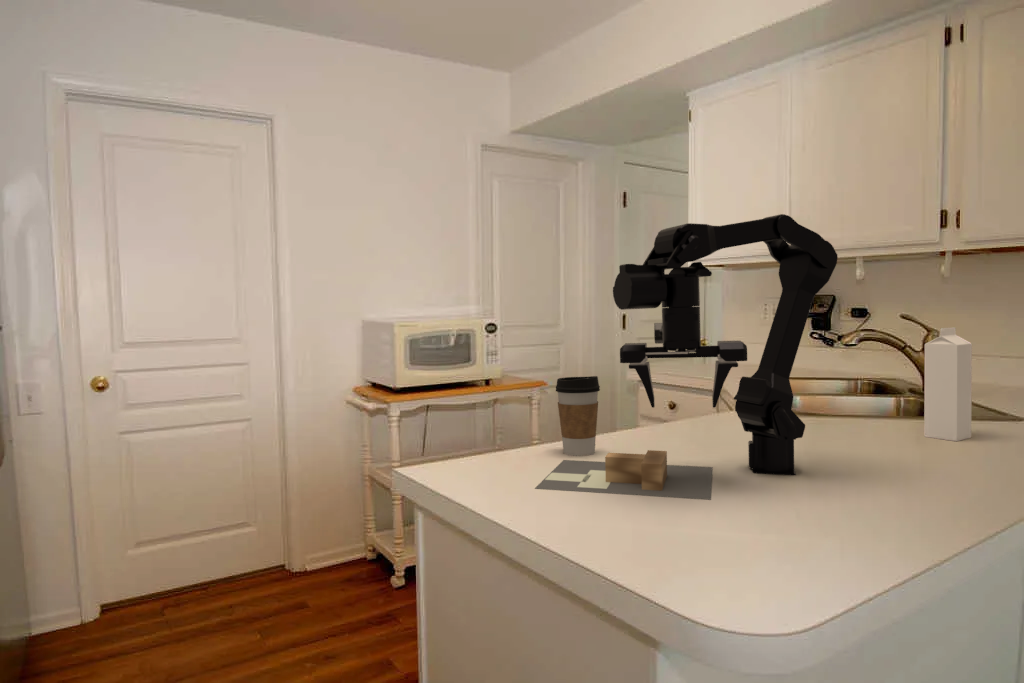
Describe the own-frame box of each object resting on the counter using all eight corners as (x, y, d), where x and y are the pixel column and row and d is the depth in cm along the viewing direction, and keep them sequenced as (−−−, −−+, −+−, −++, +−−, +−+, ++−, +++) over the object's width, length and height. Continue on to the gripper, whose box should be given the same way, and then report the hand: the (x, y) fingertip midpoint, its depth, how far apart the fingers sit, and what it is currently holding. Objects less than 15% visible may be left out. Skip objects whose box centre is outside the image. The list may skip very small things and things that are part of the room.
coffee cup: (587, 461, 116) (585, 379, 116) (548, 456, 122) (546, 377, 121) (609, 452, 123) (607, 375, 122) (572, 447, 128) (570, 373, 127)
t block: (667, 475, 104) (666, 451, 104) (662, 490, 96) (661, 464, 95) (611, 472, 107) (611, 448, 107) (602, 487, 98) (601, 461, 98)
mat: (712, 469, 108) (712, 466, 108) (710, 502, 90) (710, 499, 90) (563, 462, 117) (563, 459, 117) (534, 491, 99) (534, 488, 99)
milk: (924, 437, 129) (923, 328, 128) (939, 433, 132) (938, 326, 131) (957, 441, 124) (957, 328, 123) (972, 437, 127) (972, 326, 126)
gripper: (739, 304, 104) (741, 399, 105) (623, 308, 109) (626, 399, 110) (746, 305, 94) (748, 410, 95) (618, 309, 98) (621, 410, 99)
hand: (683, 407), depth 100 cm, fingers open, 9 cm apart
